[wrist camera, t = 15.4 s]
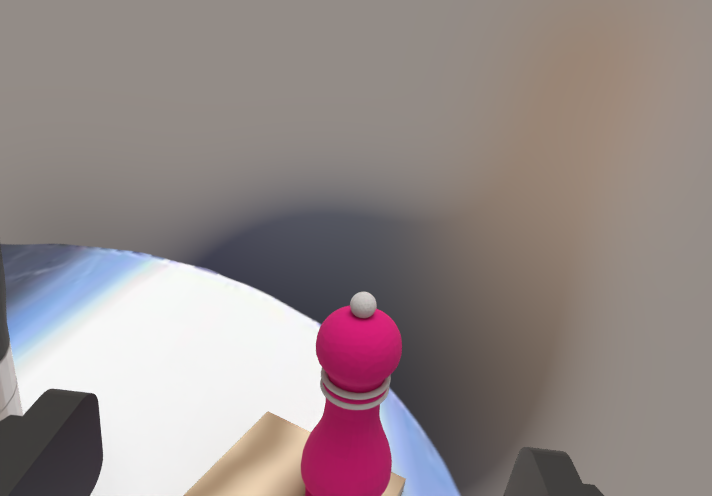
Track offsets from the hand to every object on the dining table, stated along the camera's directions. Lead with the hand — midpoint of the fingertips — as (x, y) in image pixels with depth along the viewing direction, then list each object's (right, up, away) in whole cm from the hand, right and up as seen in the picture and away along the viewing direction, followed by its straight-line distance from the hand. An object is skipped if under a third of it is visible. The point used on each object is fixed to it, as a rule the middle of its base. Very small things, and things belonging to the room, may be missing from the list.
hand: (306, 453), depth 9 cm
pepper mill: (0, -17, +32) cm, 36 cm away
